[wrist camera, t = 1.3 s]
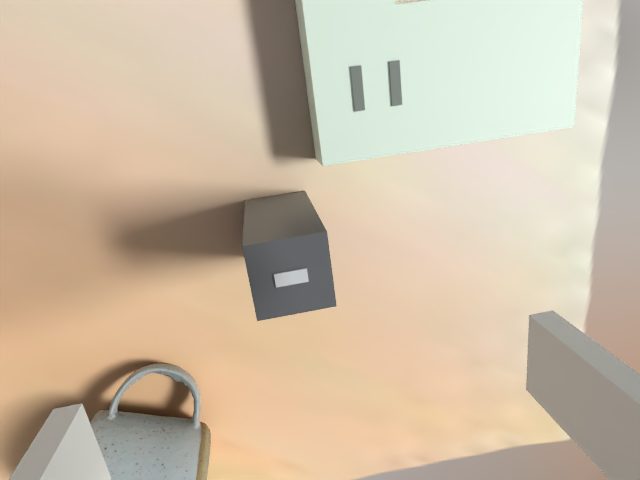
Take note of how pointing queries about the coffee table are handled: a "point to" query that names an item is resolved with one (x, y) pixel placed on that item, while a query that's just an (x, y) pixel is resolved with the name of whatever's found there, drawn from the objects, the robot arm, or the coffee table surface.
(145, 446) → the ceramic mug
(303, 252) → the charger block
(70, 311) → the coffee table surface
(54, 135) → the coffee table surface
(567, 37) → the outlet plate
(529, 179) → the coffee table surface
